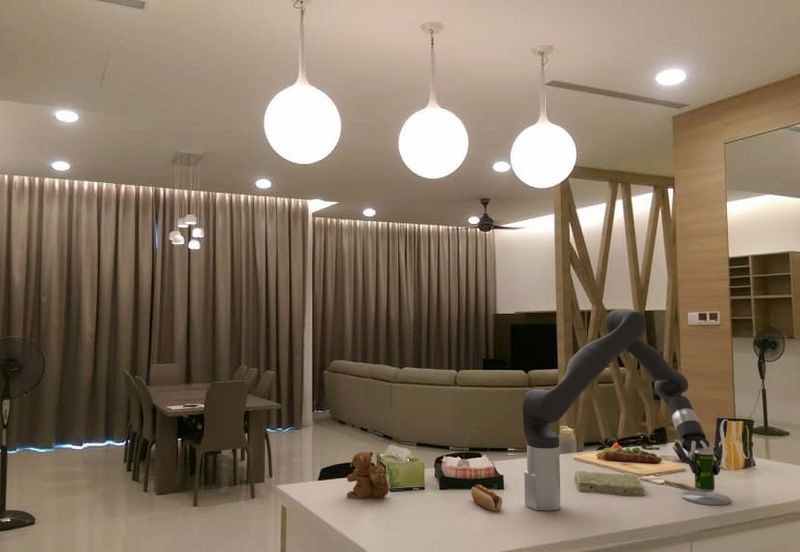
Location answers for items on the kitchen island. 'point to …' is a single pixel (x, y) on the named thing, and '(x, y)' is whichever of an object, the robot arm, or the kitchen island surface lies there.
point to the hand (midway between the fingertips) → (707, 473)
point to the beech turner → (668, 482)
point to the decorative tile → (608, 483)
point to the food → (486, 498)
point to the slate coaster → (706, 498)
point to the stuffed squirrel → (367, 478)
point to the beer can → (704, 469)
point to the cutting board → (629, 461)
